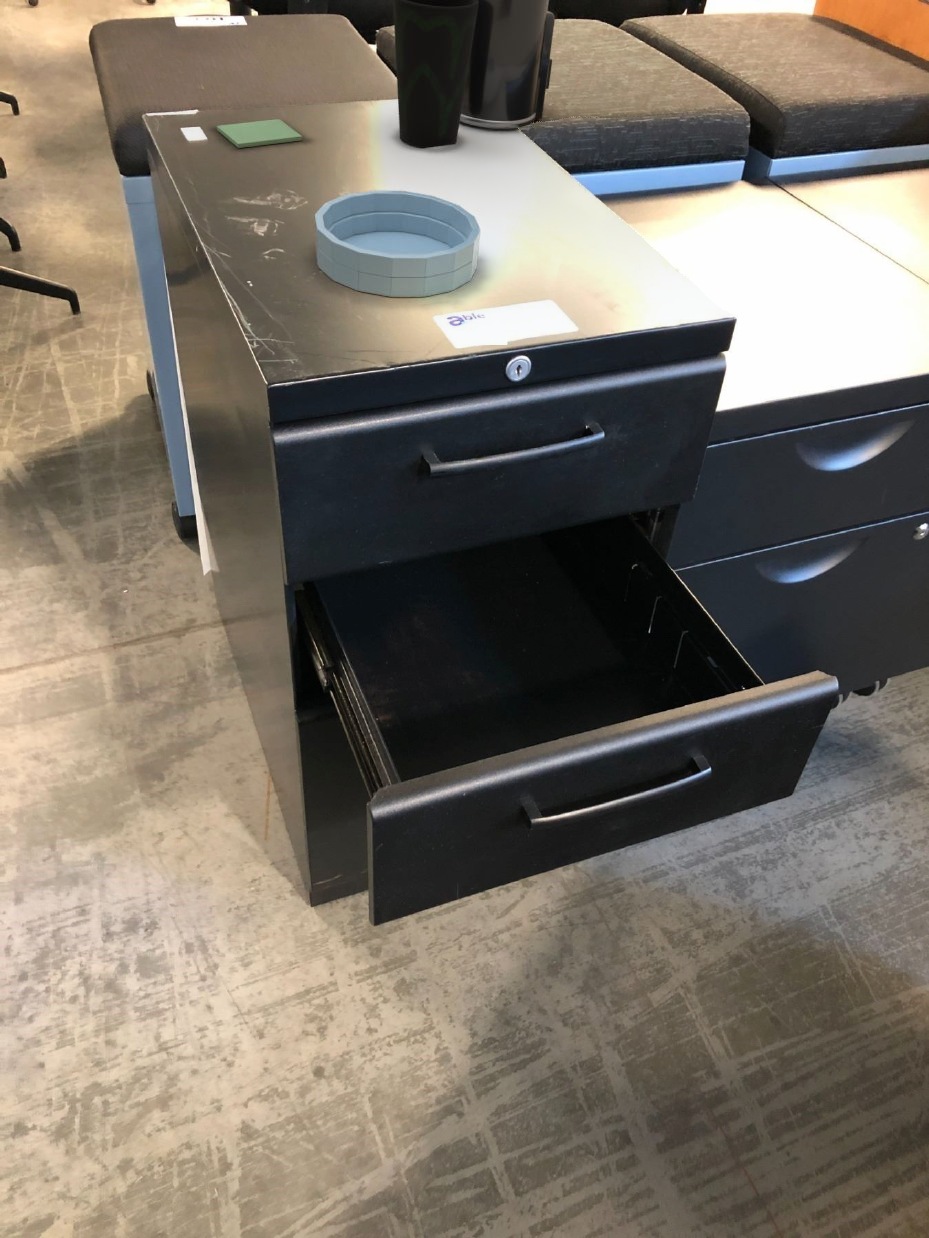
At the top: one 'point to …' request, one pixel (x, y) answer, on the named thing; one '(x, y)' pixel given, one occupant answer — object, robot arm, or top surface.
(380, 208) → the pan
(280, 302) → the top surface
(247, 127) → the green rectangular slab
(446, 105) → the cup
